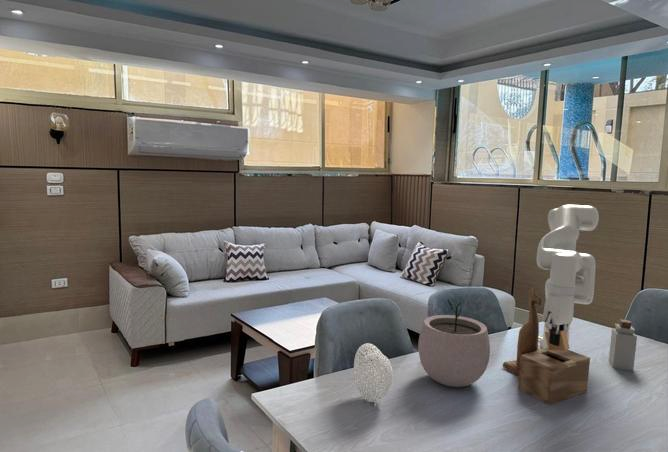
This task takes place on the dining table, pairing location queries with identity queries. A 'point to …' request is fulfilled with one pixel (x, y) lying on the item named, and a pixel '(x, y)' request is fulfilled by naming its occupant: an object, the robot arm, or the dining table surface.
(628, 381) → the dining table surface
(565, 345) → the tan flat square block
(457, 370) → the plant pot
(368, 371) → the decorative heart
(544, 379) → the box
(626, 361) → the perfume bottle
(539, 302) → the bird sculpture
